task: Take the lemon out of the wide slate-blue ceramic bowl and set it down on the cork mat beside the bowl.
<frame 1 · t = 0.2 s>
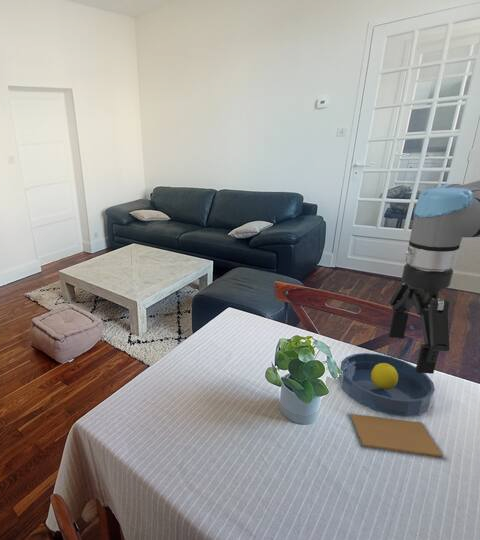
hand: (409, 353, 76), 17 cm above the table, tool pointing down, fingers open, 13 cm apart
bowl: (381, 390, 89), on the table
cork mat: (392, 434, 77), on the table
lemon: (381, 389, 89), resting on bowl
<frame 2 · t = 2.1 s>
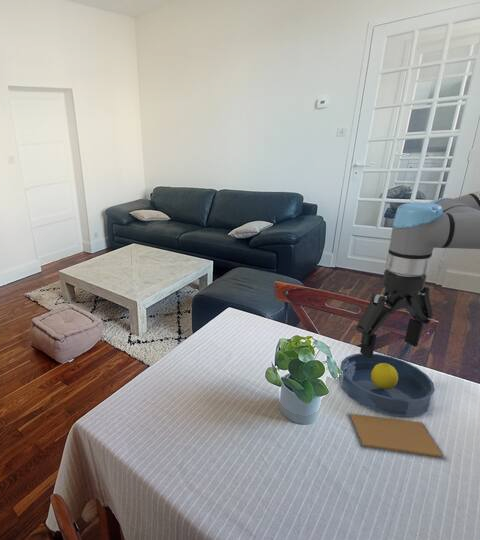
hand: (388, 349, 85), 13 cm above the table, tool pointing down, fingers open, 13 cm apart
nothing on the table moved.
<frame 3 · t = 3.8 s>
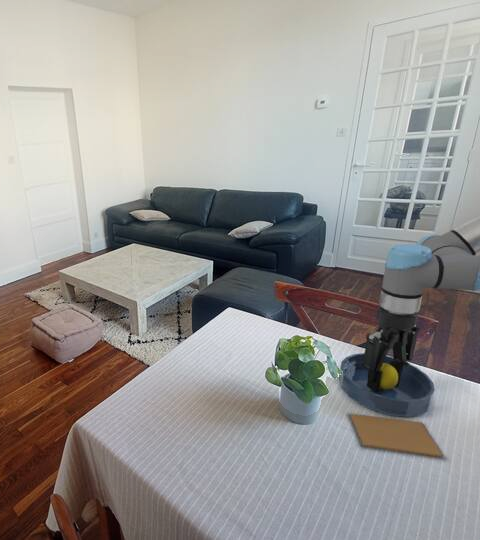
hand: (382, 386, 89), 1 cm above the table, tool pointing down, fingers closed on lemon, 6 cm apart
lemon: (381, 389, 89), resting on bowl, touching gripper
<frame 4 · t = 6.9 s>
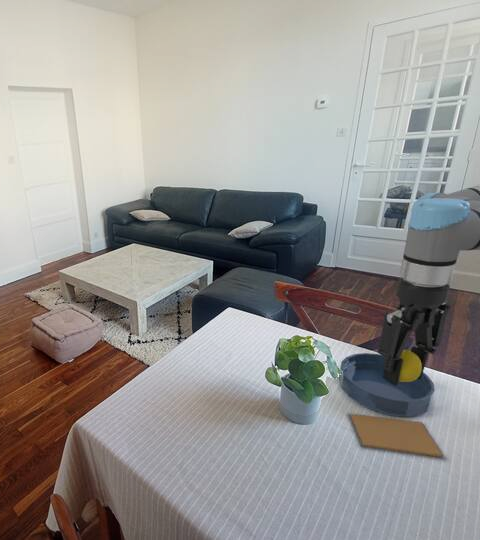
hand: (401, 378, 73), 14 cm above the table, tool pointing down, fingers closed on lemon, 5 cm apart
lemon: (400, 382, 74), point 13 cm above the table, touching gripper
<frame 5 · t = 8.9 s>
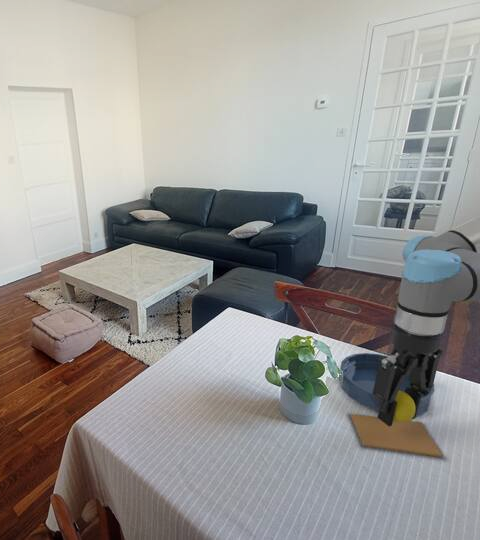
hand: (396, 417, 75), 5 cm above the table, tool pointing down, fingers closed on lemon, 5 cm apart
lemon: (395, 421, 75), point 4 cm above the table, touching gripper
when the fingers open (1 cm above the table, at t = 10.2 s): lemon stays where it is, resting on cork mat.
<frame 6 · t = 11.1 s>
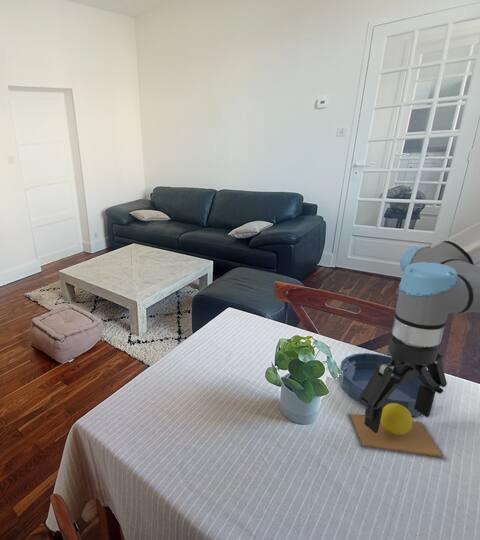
hand: (396, 420, 75), 4 cm above the table, tool pointing down, fingers open, 13 cm apart
lemon: (392, 433, 76), resting on cork mat
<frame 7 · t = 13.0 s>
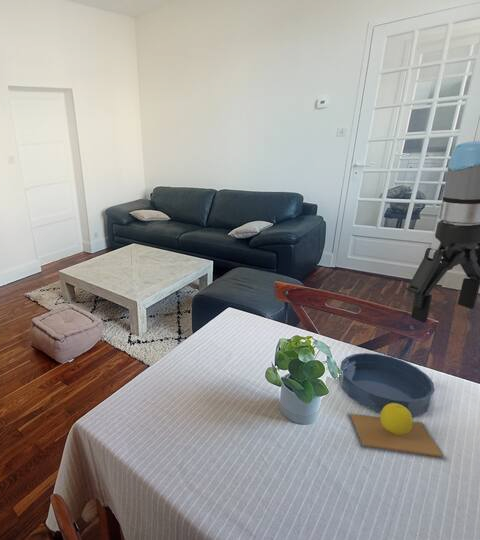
hand: (442, 313, 76), 25 cm above the table, tool pointing down, fingers open, 13 cm apart
nothing on the table moved.
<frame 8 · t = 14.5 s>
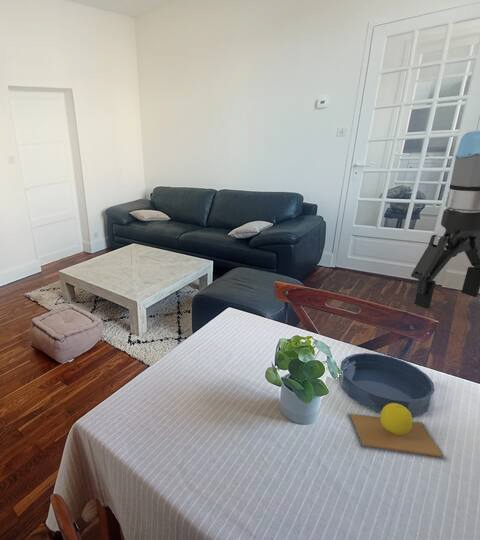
hand: (445, 300, 78), 27 cm above the table, tool pointing down, fingers open, 13 cm apart
nothing on the table moved.
at the end: lemon inside the target area on the cork mat (0.0 cm from its centre), point 0.4 cm above the cork mat's base; lemon 0.0 cm from the cork mat (horizontally); the gripper is holding nothing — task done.
